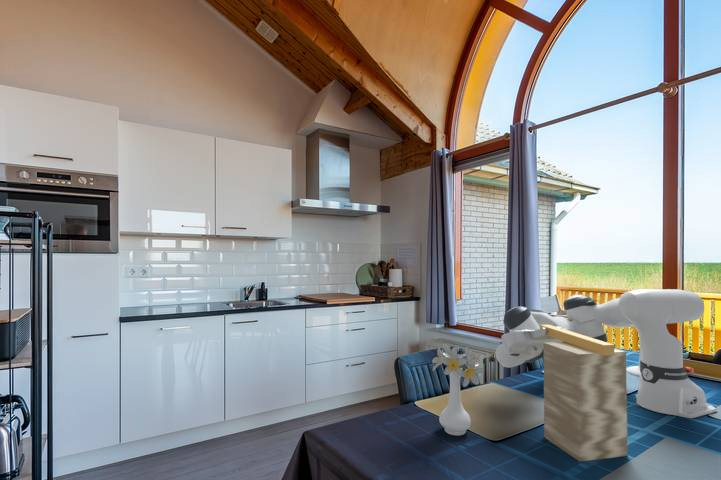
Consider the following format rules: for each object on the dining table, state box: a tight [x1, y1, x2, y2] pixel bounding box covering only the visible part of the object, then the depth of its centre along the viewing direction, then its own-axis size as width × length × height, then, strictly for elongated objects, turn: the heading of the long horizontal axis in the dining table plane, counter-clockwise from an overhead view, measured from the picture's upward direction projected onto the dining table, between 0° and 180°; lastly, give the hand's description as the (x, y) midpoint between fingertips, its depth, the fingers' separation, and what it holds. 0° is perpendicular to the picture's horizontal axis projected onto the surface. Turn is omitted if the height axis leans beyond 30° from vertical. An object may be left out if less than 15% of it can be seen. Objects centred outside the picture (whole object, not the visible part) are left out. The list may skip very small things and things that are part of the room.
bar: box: [540, 325, 615, 355], centre depth 109 cm, size 3×24×2 cm, turn 12°
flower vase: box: [431, 343, 485, 436], centre depth 113 cm, size 12×18×24 cm
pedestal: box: [543, 342, 629, 463], centre depth 105 cm, size 14×13×26 cm
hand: (552, 329), depth 117 cm, fingers closed on bar, 3 cm apart
